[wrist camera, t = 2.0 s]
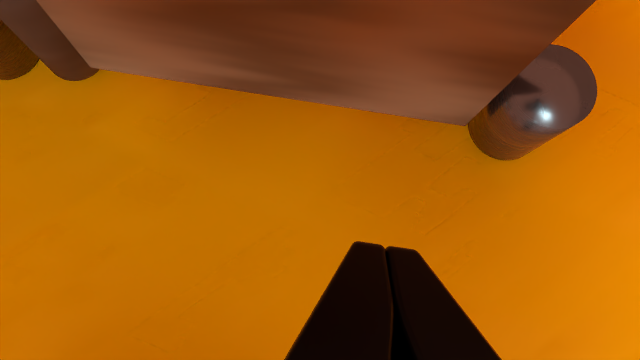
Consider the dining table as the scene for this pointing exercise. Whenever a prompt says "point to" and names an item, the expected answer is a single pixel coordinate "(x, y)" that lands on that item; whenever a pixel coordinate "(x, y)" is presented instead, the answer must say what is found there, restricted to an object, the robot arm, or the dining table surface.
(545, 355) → the dining table surface
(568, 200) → the dining table surface
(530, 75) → the brown gate
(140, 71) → the gate leaf
